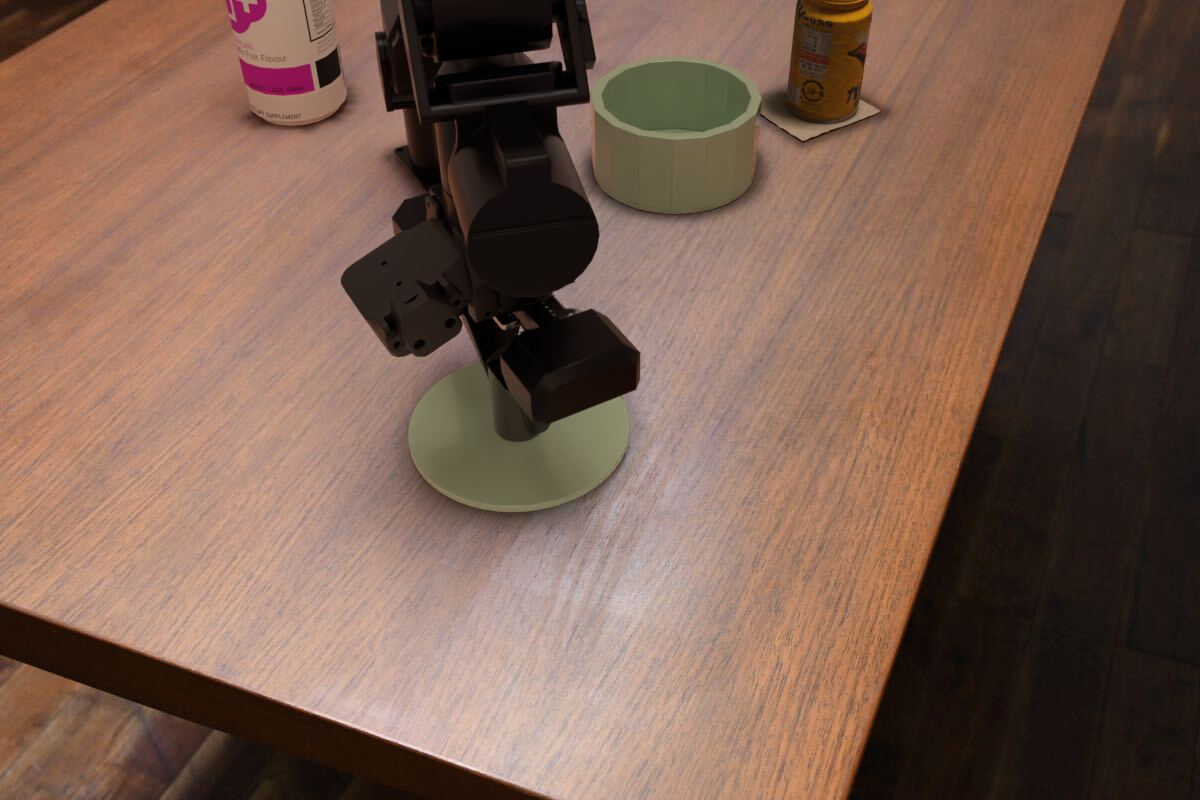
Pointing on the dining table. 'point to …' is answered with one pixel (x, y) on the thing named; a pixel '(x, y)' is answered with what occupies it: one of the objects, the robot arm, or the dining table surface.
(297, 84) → the supplement can
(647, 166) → the canister
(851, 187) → the dining table surface
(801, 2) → the yellow drink can
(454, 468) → the lid
